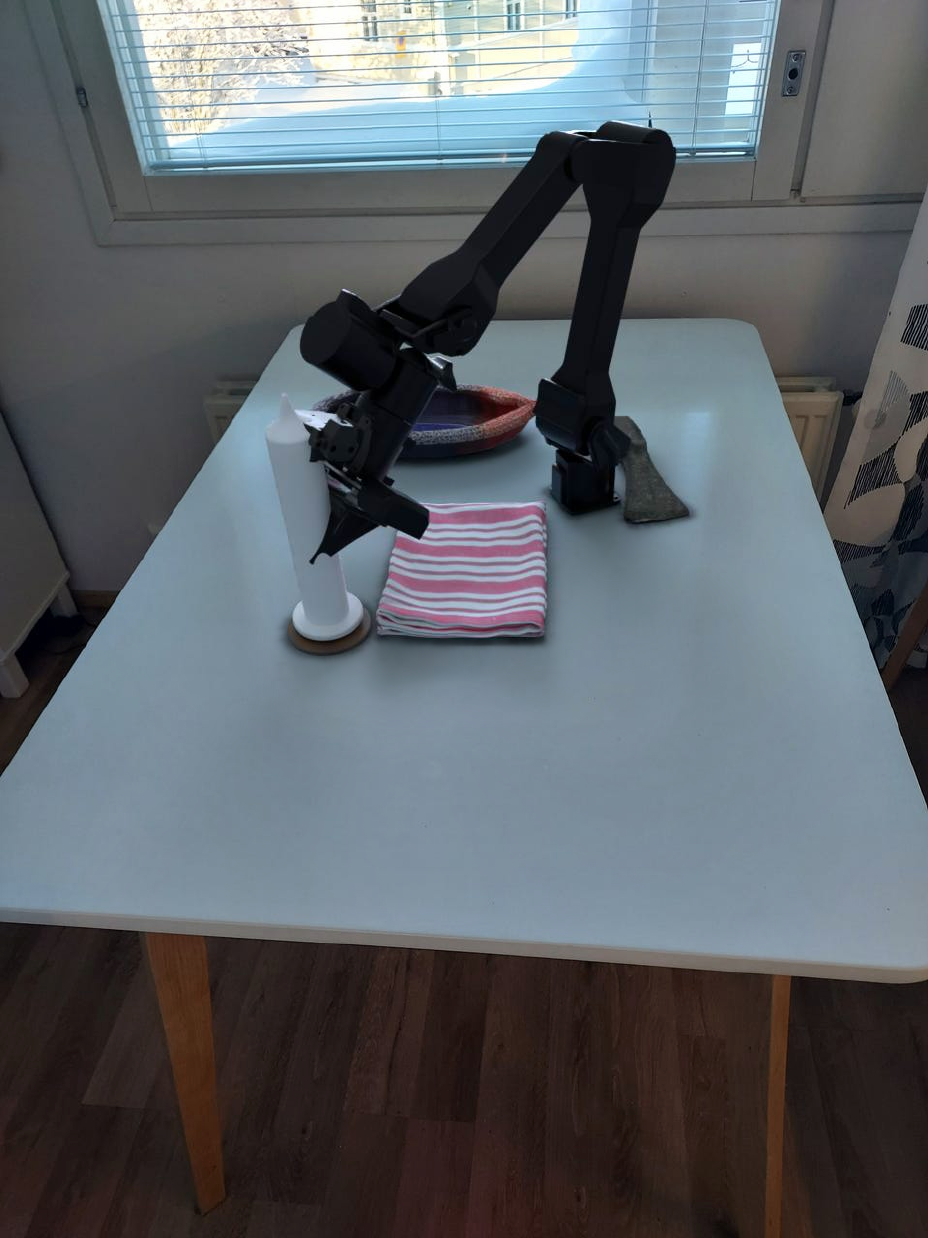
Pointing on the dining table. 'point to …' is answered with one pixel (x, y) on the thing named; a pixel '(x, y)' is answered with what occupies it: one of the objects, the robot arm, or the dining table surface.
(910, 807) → the dining table surface
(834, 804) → the dining table surface
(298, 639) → the coaster
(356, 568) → the dining table surface
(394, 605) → the dish towel
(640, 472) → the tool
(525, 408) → the dish
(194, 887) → the dining table surface
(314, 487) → the candle
